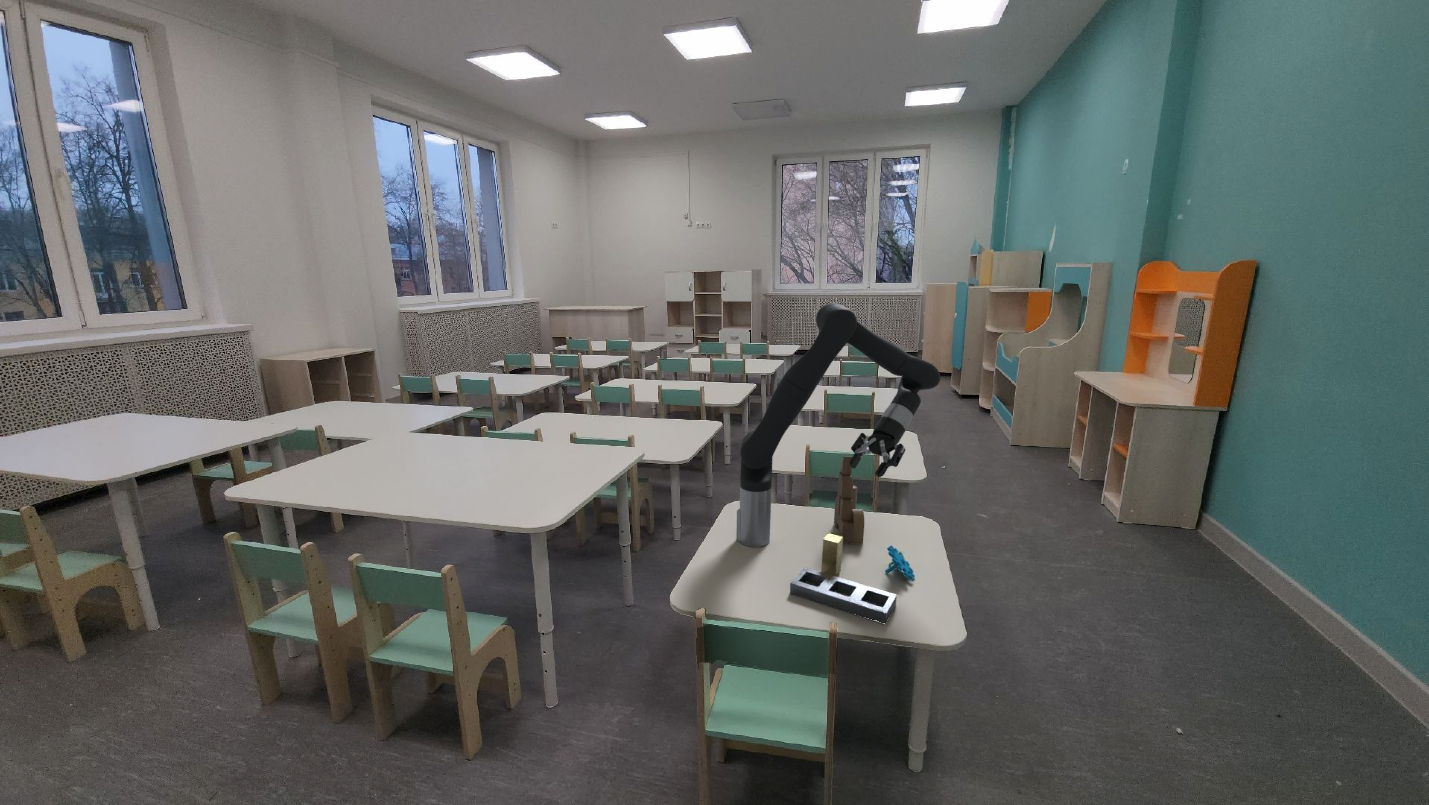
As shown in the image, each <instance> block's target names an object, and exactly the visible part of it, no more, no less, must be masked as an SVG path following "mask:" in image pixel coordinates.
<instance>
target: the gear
mask: <svg viewBox="0 0 1429 805" xmlns="http://www.w3.org/2000/svg"><path fill="white" fill-rule="evenodd" d="M886 550H887V551H888V552H887V553H888V554H887V555H889V557H890V558H891V562H889V563H888V566H889V567H888V568H887V569H885V570H884V572H885V574H886V575H888V574H890V573H892V572H893V571H894V570H896V569H897V570H898V571H899V572H902V571H903V573H902V574H903V576H904V577H905V578H908V579H909V580H911V581H913V579H914V578H915V574H914V569H913V568H912V567H910V566H911V564H910V563H909V561H907V560H906V559H905V557H904V554H903V552H902V551H899V550H898V548H896V547H894V546H893V545H890V546H888V547H887V548H886Z"/></svg>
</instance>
